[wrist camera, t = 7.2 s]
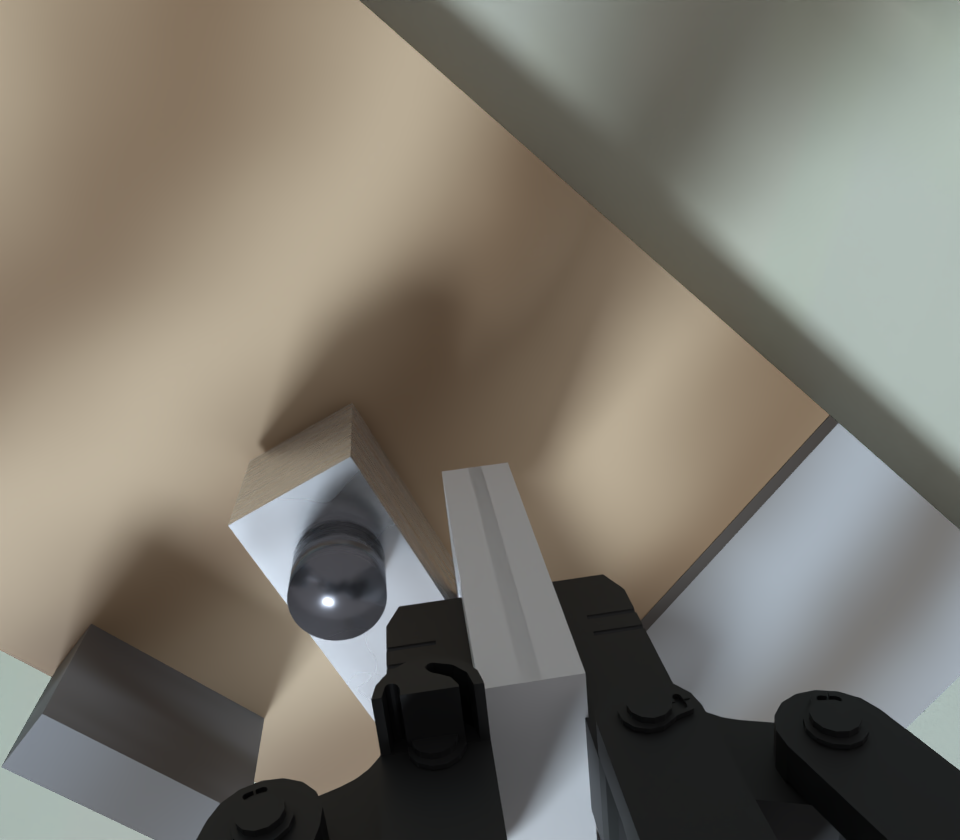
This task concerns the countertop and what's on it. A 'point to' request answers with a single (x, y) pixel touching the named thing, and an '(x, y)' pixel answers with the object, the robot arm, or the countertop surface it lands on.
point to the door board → (373, 402)
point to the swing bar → (341, 542)
